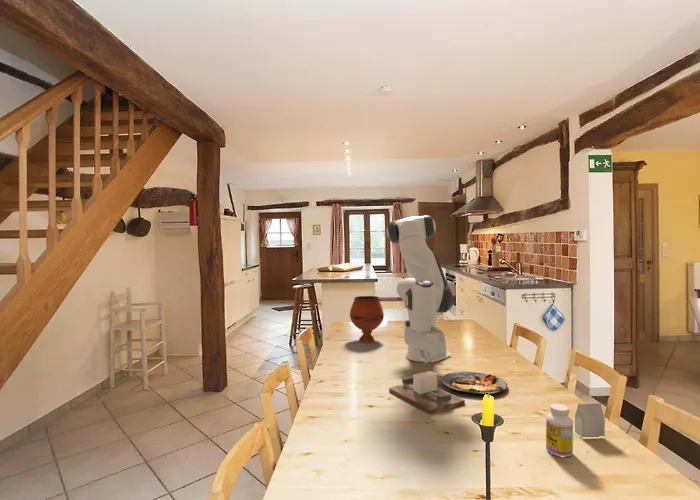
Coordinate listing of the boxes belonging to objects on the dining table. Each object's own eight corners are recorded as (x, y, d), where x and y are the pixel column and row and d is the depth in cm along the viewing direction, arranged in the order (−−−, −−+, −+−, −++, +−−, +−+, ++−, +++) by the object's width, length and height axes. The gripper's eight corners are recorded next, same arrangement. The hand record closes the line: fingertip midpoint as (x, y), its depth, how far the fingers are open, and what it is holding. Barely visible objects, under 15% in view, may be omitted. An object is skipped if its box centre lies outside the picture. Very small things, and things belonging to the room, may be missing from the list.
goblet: (389, 338, 241) (389, 296, 240) (373, 346, 225) (372, 300, 224) (361, 334, 252) (360, 293, 251) (343, 342, 236) (343, 298, 235)
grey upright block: (604, 439, 123) (604, 405, 122) (582, 439, 122) (582, 406, 122) (596, 433, 126) (596, 400, 126) (574, 433, 126) (575, 401, 126)
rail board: (421, 383, 169) (421, 372, 169) (464, 404, 148) (464, 392, 148) (389, 391, 161) (389, 379, 161) (429, 414, 140) (429, 401, 140)
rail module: (430, 389, 158) (430, 370, 158) (437, 393, 155) (437, 373, 155) (413, 394, 155) (413, 374, 154) (420, 397, 151) (420, 377, 151)
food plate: (506, 380, 173) (506, 371, 172) (508, 402, 151) (508, 392, 150) (445, 374, 181) (445, 366, 180) (438, 394, 159) (438, 385, 158)
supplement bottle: (541, 446, 119) (541, 402, 118) (563, 445, 119) (563, 401, 119) (554, 459, 112) (555, 412, 111) (578, 457, 112) (578, 411, 112)
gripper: (450, 329, 146) (450, 368, 147) (414, 319, 164) (414, 353, 164) (436, 331, 143) (436, 370, 144) (401, 320, 161) (401, 356, 161)
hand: (424, 361), depth 154 cm, fingers closed
